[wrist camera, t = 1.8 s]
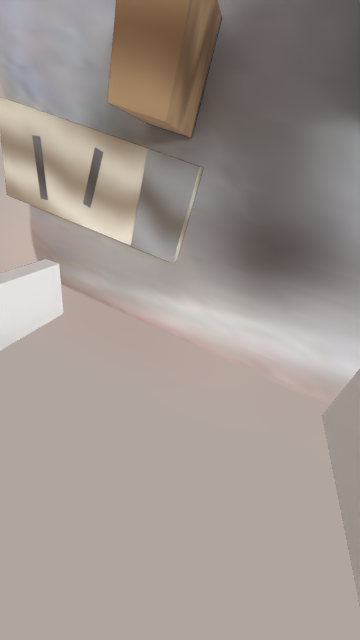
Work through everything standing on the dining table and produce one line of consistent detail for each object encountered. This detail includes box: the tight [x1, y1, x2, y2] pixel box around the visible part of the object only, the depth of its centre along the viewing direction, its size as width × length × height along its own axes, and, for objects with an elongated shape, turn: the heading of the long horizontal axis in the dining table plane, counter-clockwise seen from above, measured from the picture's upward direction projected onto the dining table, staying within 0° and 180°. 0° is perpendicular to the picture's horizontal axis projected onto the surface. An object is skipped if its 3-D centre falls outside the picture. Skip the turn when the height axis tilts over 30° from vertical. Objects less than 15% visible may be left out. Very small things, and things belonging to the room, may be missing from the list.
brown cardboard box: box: [107, 0, 222, 138], centre depth 19 cm, size 8×5×7 cm, turn 163°
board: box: [0, 97, 203, 263], centre depth 28 cm, size 10×24×2 cm, turn 73°
